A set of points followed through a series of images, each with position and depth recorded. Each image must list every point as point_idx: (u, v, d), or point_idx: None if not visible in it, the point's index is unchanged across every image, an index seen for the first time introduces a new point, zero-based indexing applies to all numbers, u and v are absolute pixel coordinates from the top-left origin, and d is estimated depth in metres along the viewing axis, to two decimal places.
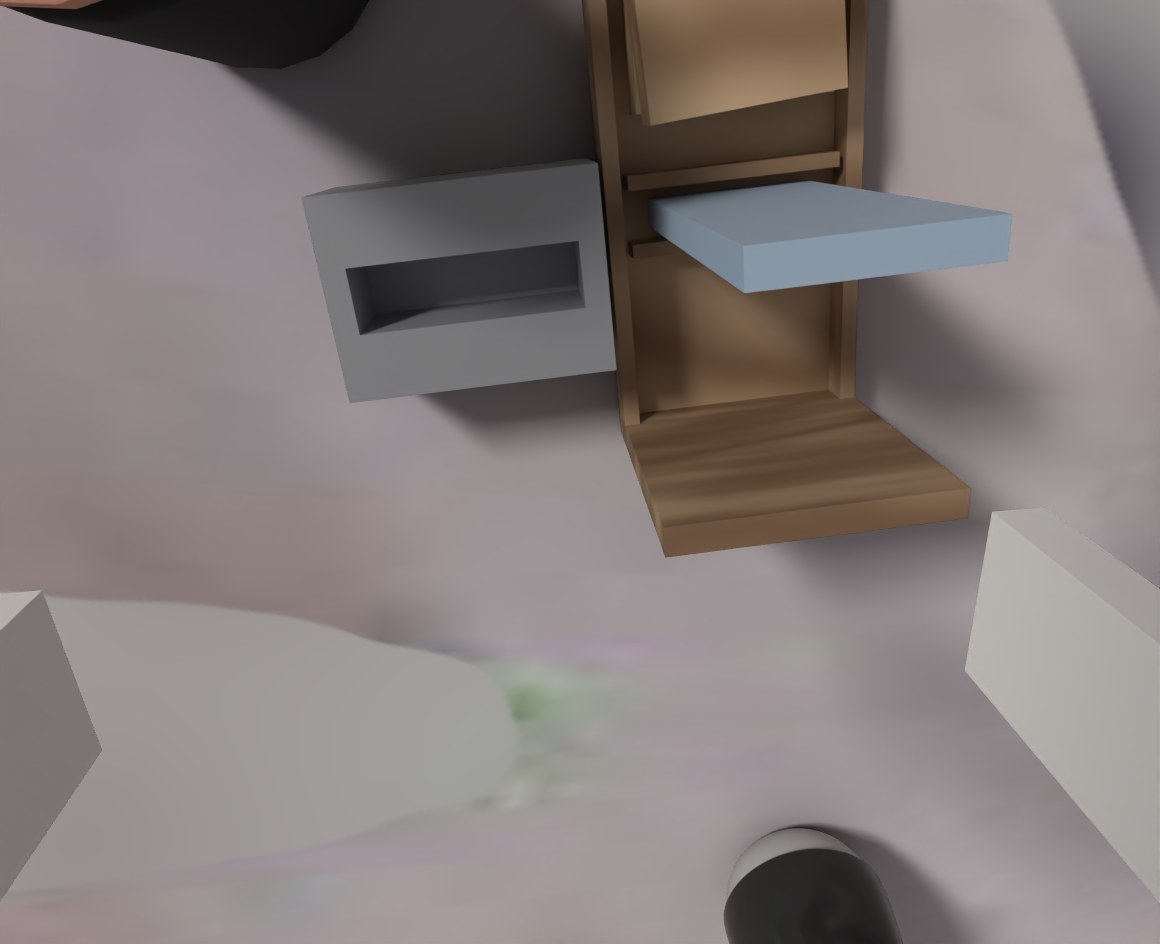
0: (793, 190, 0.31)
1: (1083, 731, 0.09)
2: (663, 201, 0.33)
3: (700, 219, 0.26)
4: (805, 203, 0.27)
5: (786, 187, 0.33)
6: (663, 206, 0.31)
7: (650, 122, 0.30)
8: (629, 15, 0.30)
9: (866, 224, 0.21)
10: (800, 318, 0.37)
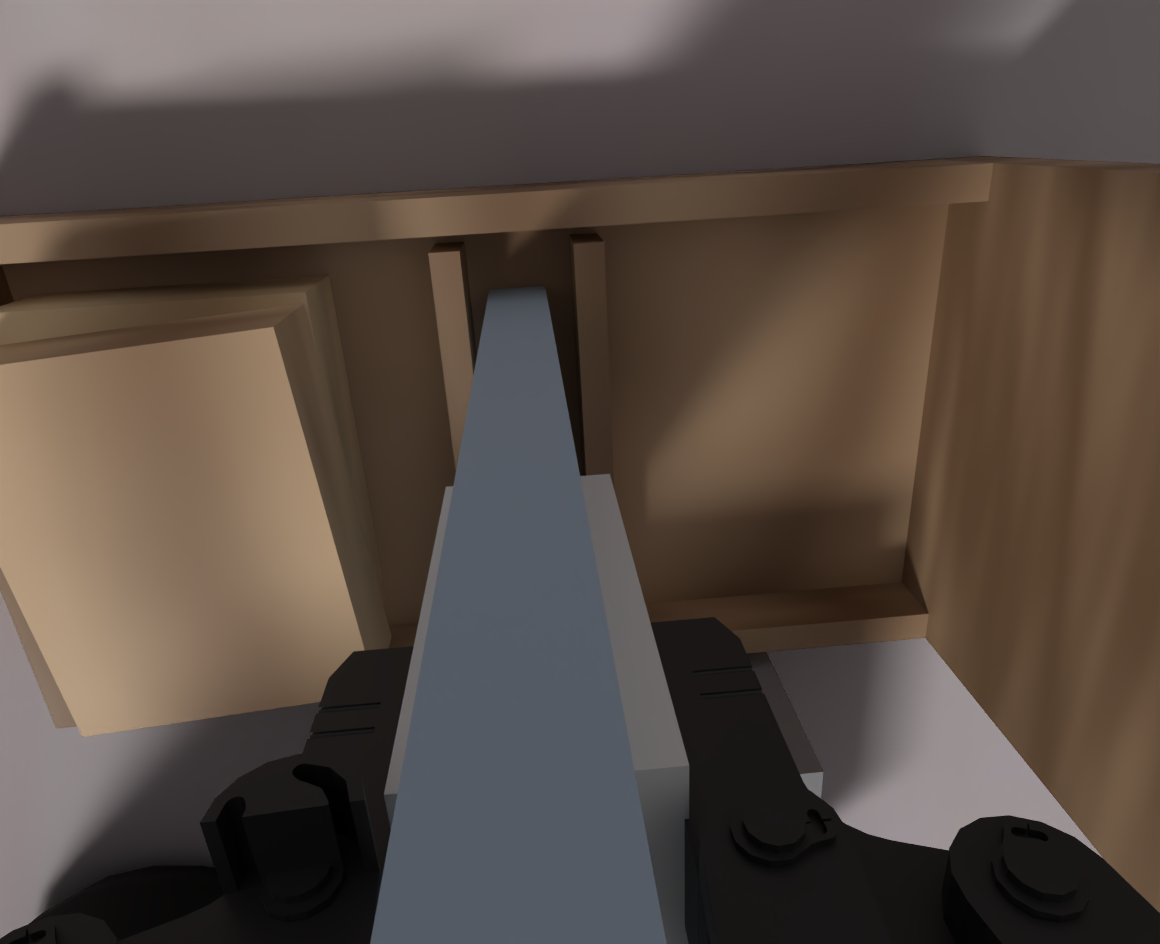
0: None
1: None
2: None
3: None
4: None
5: None
6: None
7: None
8: None
9: None
10: (776, 275, 0.17)
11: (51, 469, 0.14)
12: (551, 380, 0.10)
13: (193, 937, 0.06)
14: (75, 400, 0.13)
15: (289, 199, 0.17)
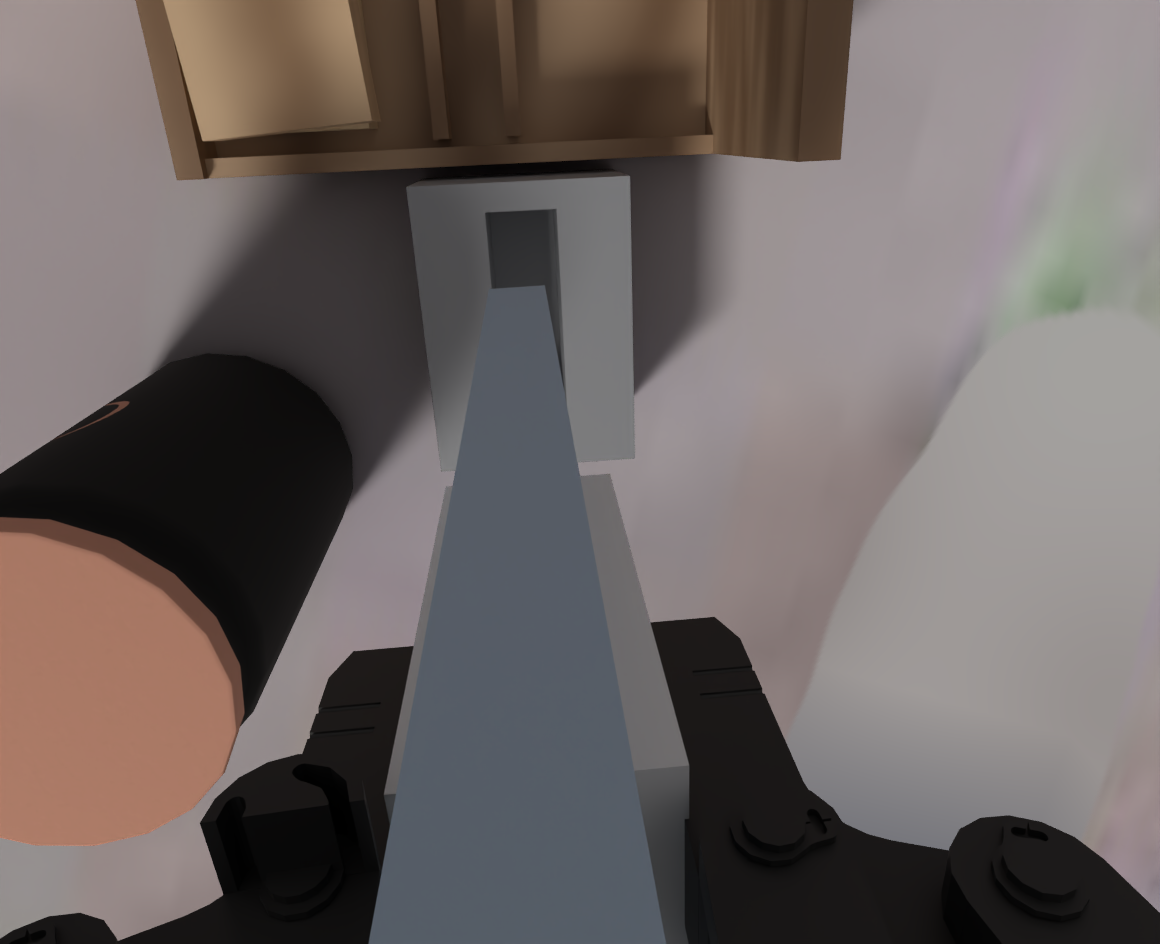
0: None
1: None
2: None
3: None
4: None
5: None
6: None
7: (368, 120, 0.28)
8: (276, 133, 0.29)
9: None
10: None
11: None
12: (551, 379, 0.10)
13: (193, 937, 0.06)
14: None
15: None
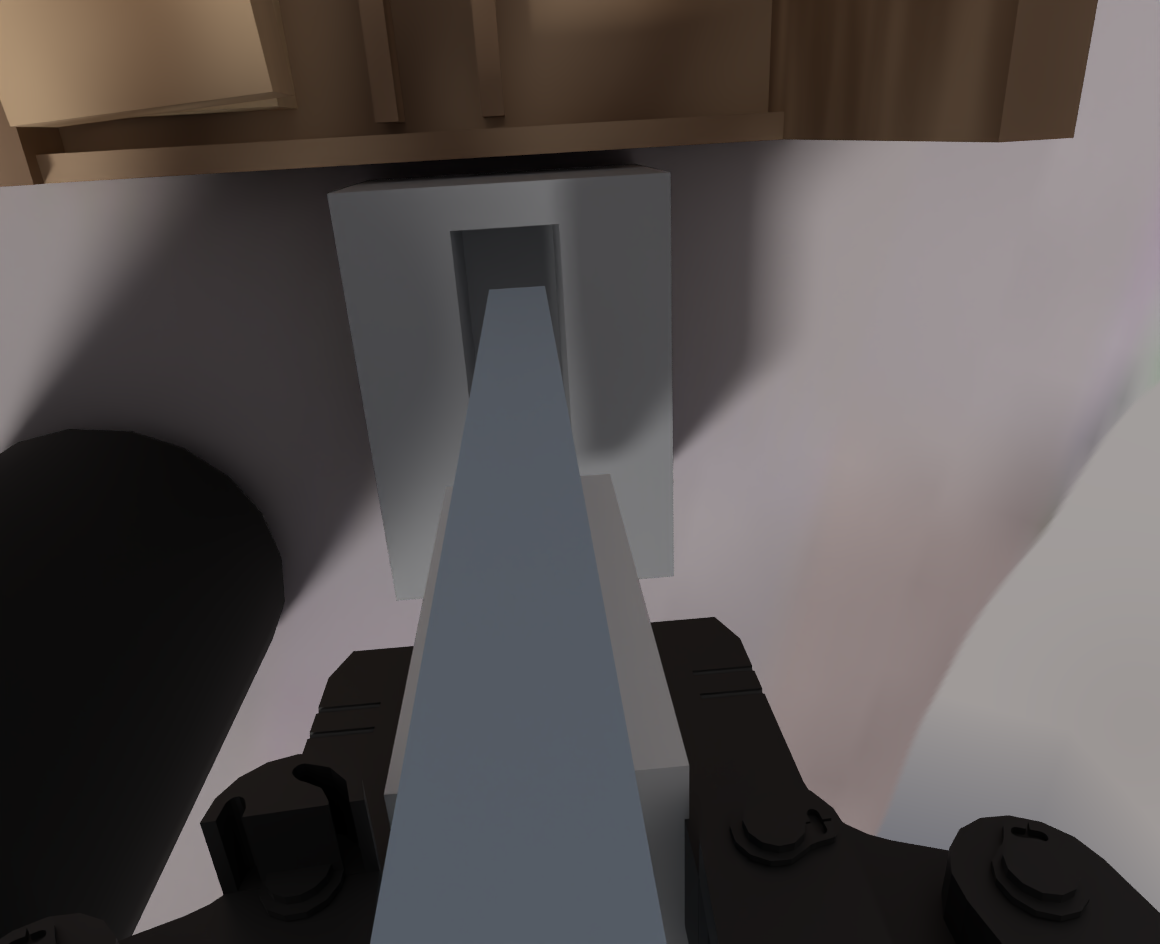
0: None
1: None
2: None
3: None
4: None
5: None
6: None
7: (268, 91, 0.18)
8: (136, 115, 0.20)
9: None
10: None
11: None
12: (551, 380, 0.10)
13: (193, 937, 0.06)
14: None
15: None
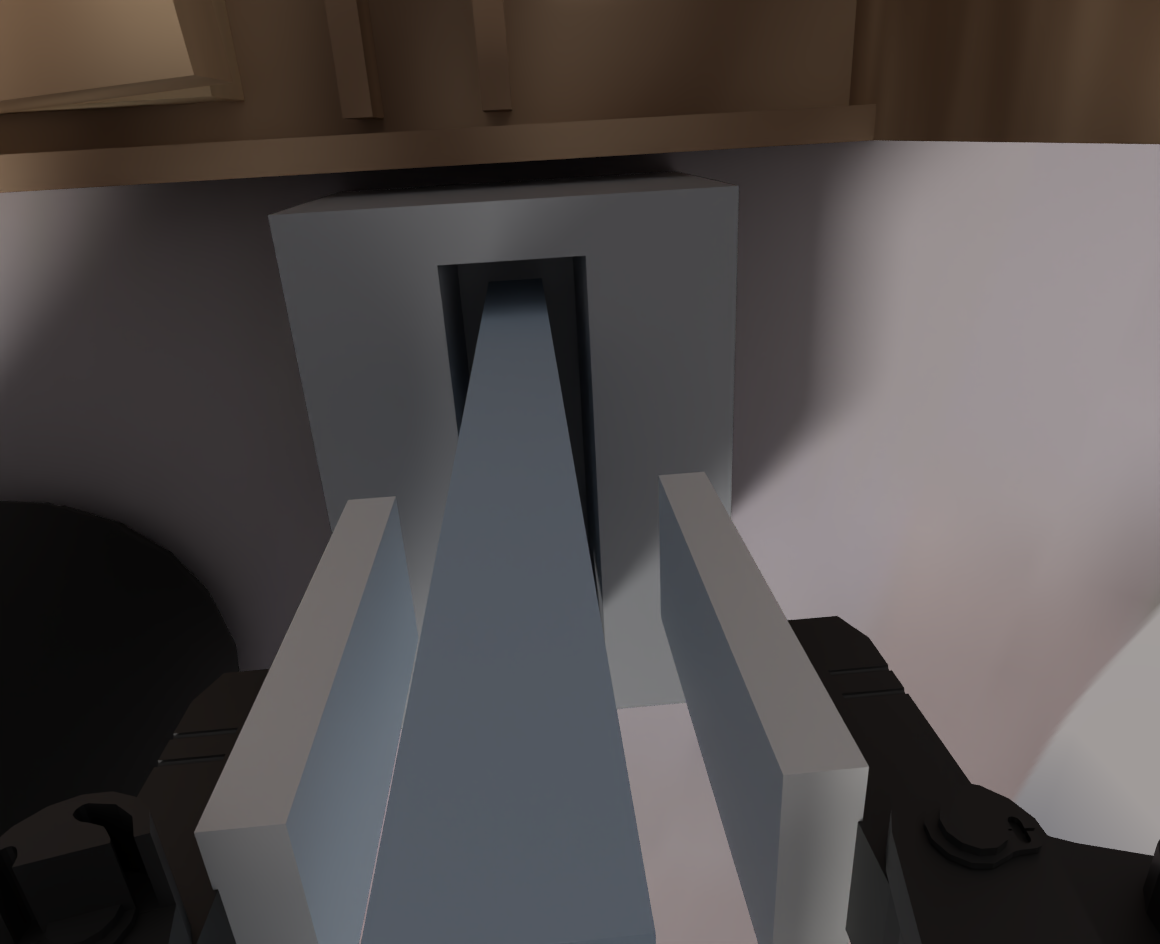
0: None
1: (688, 654, 0.11)
2: None
3: None
4: None
5: None
6: None
7: (188, 75, 0.13)
8: (20, 108, 0.15)
9: None
10: None
11: None
12: (545, 360, 0.11)
13: None
14: None
15: None
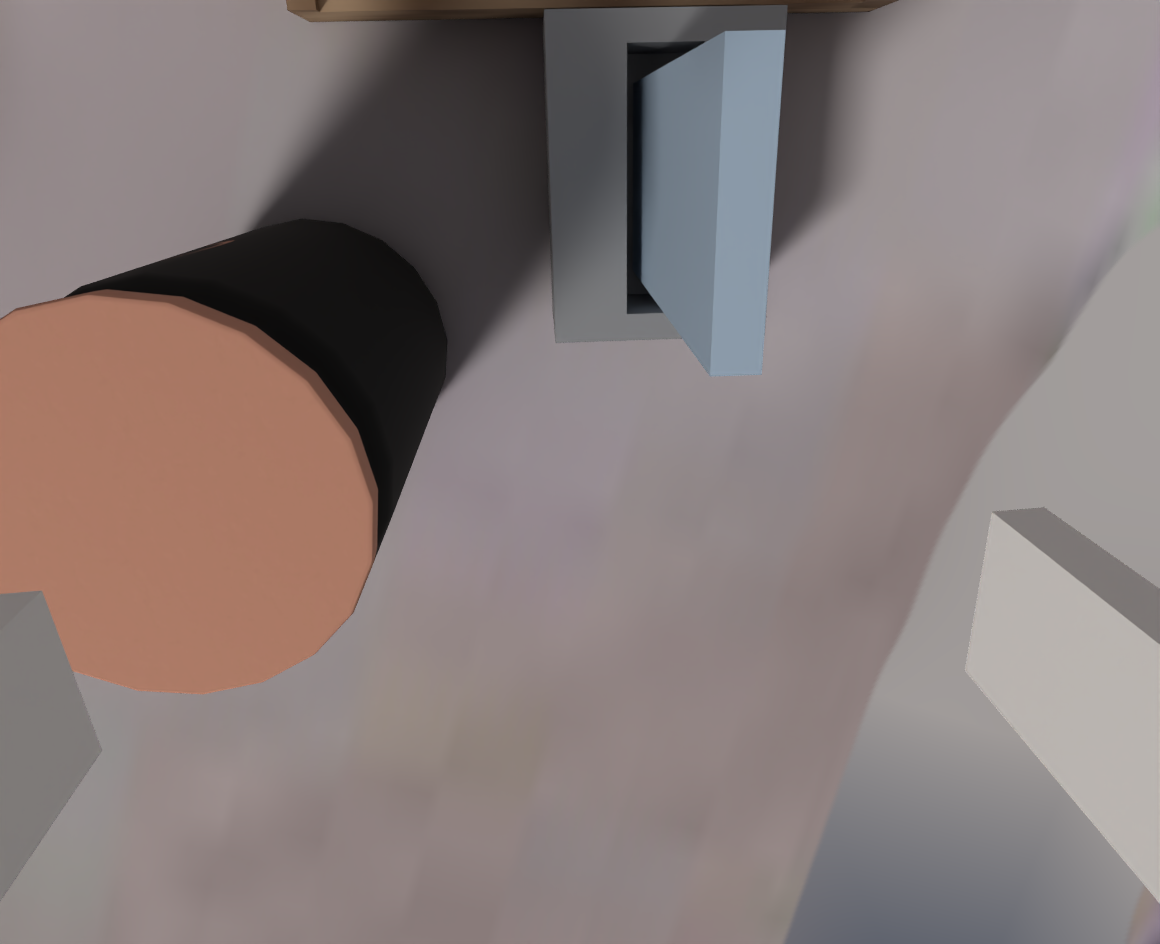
0: (645, 133, 0.27)
1: (1083, 731, 0.09)
2: (638, 269, 0.31)
3: (667, 309, 0.24)
4: (665, 172, 0.23)
5: (640, 127, 0.29)
6: (645, 287, 0.29)
7: None
8: None
9: (707, 207, 0.18)
10: None
11: None
12: None
13: None
14: None
15: None
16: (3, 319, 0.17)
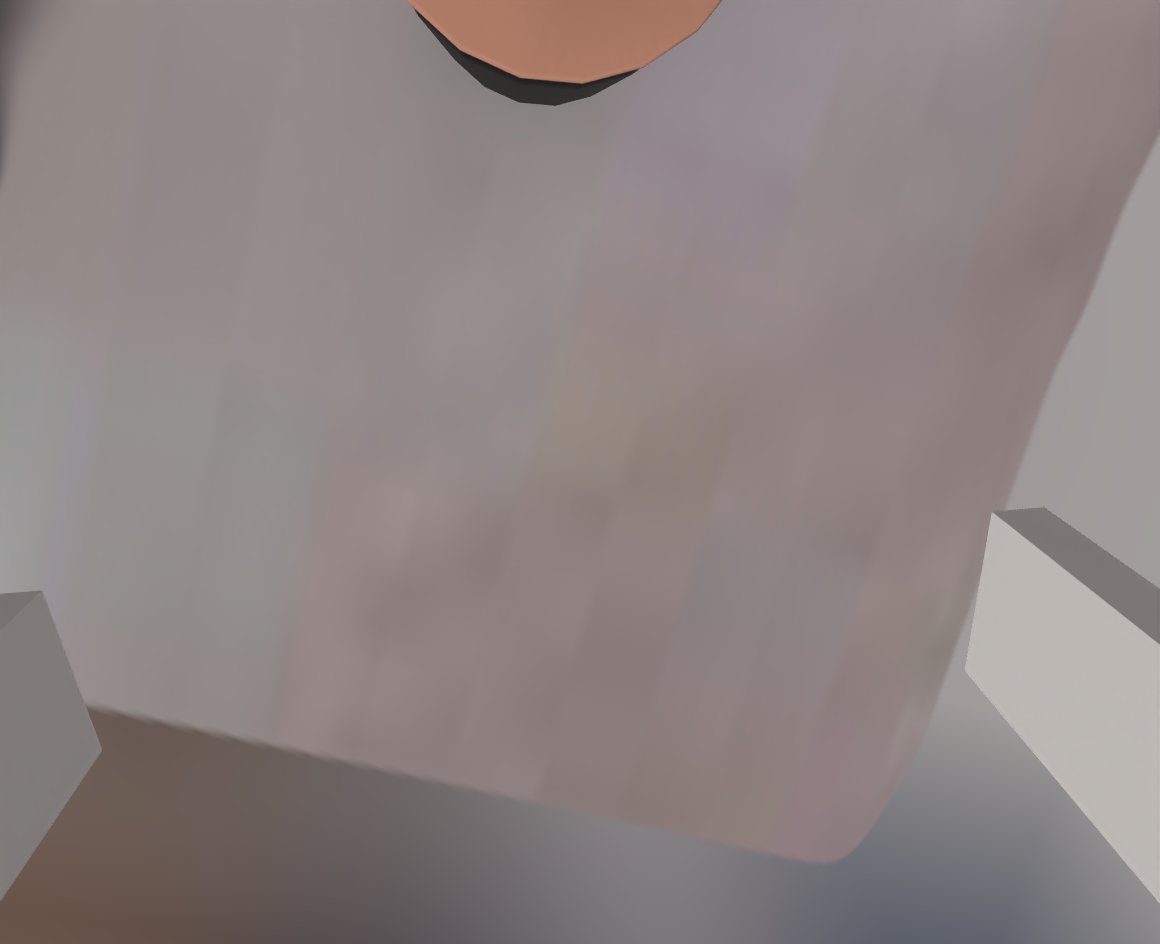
0: None
1: (1082, 731, 0.09)
2: None
3: None
4: None
5: None
6: None
7: None
8: None
9: None
10: None
11: None
12: None
13: None
14: None
15: None
16: None
